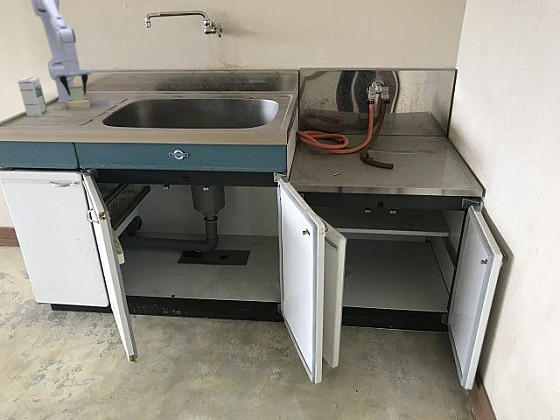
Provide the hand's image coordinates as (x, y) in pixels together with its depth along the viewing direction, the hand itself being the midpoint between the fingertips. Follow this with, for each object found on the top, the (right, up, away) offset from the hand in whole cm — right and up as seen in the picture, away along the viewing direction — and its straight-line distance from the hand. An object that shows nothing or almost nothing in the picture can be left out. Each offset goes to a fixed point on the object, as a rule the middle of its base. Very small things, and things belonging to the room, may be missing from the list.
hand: (77, 94), depth 195 cm
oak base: (0, -5, +2) cm, 5 cm away
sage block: (0, -2, +1) cm, 2 cm away
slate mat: (+2, -4, +5) cm, 7 cm away
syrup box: (-13, -10, -7) cm, 18 cm away
